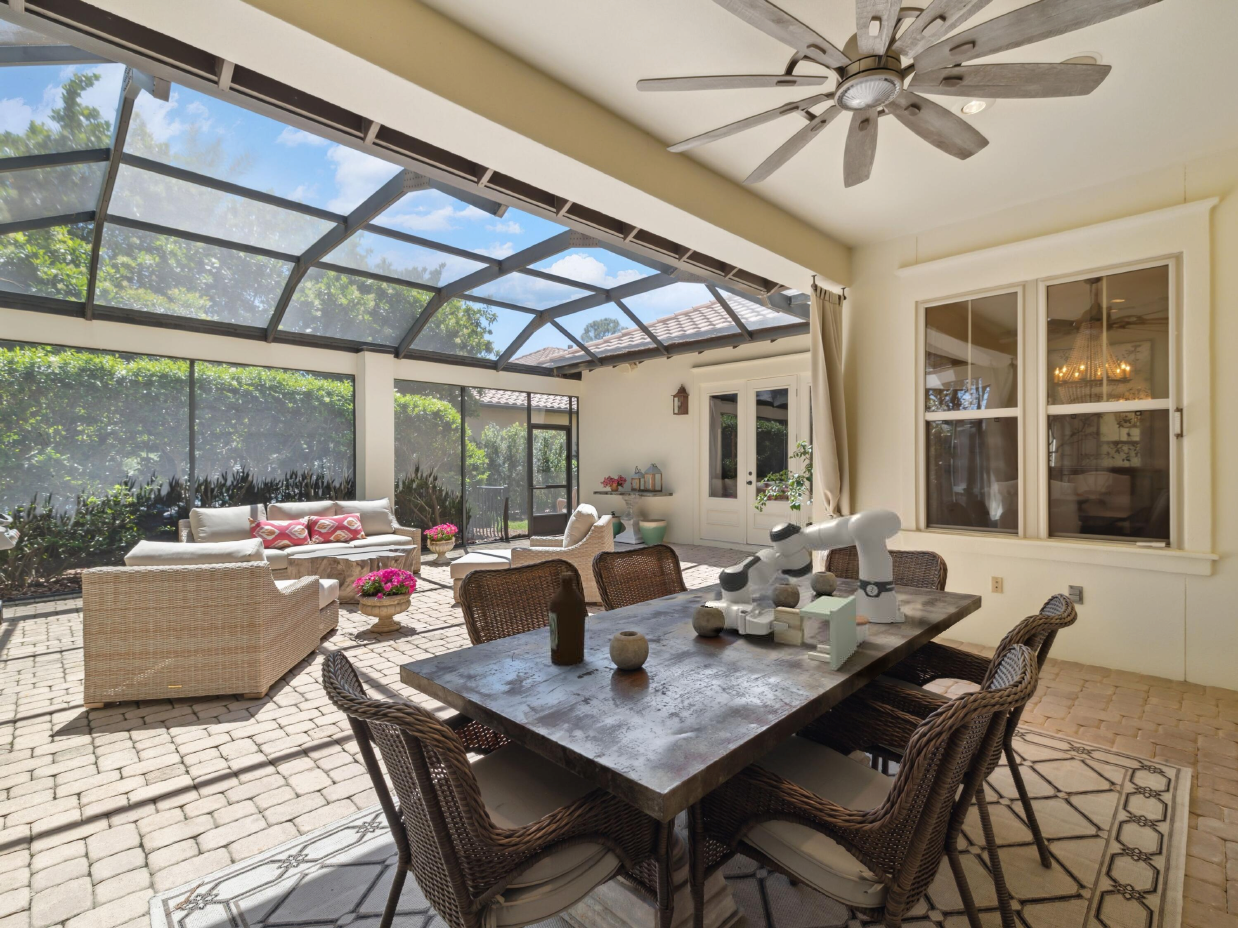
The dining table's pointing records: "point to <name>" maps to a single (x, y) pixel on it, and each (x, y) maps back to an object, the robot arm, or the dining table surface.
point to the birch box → (795, 626)
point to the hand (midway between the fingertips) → (791, 624)
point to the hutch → (835, 628)
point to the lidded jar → (861, 628)
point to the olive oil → (567, 624)
